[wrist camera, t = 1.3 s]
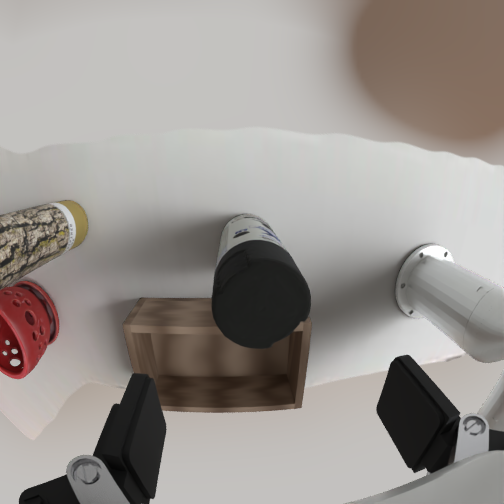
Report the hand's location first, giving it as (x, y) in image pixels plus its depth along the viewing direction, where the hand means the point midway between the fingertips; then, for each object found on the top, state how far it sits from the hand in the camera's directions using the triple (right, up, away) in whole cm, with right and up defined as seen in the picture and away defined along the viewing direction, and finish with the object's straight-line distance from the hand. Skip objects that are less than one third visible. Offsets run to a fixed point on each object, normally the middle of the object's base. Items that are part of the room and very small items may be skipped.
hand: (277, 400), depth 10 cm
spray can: (-2, +7, +28) cm, 29 cm away
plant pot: (-38, -4, +28) cm, 47 cm away
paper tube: (-27, +10, +25) cm, 38 cm away
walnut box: (-6, -7, +31) cm, 32 cm away
